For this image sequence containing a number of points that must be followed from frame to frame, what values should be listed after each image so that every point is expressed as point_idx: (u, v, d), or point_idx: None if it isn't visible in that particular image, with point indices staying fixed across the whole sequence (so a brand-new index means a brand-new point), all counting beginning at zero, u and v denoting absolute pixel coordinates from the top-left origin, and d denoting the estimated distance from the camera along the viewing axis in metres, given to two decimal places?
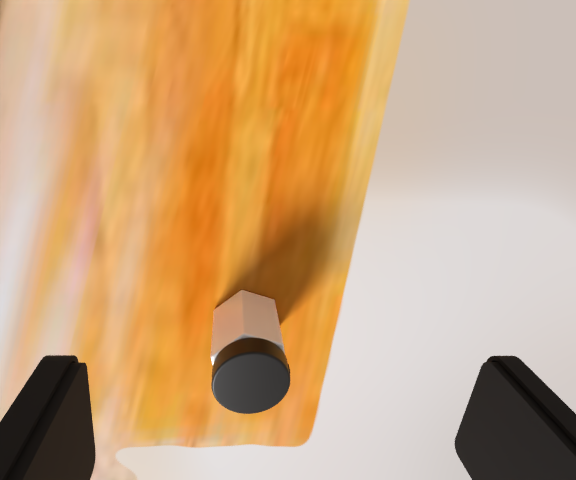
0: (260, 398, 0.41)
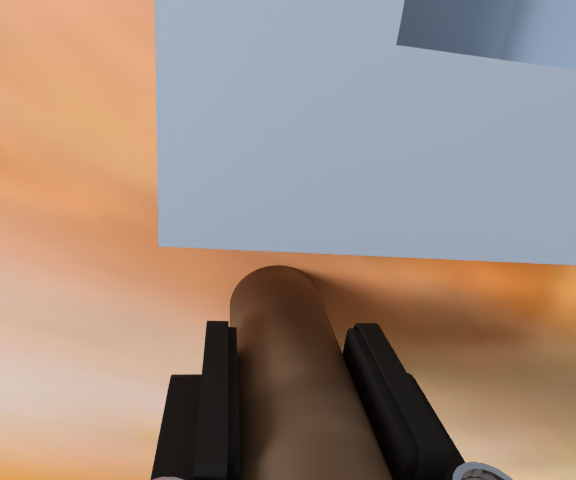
0: None
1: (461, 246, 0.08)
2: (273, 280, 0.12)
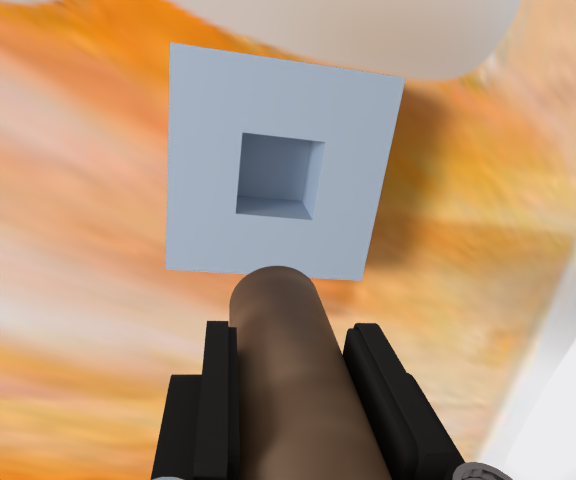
0: None
1: None
2: (273, 280, 0.12)
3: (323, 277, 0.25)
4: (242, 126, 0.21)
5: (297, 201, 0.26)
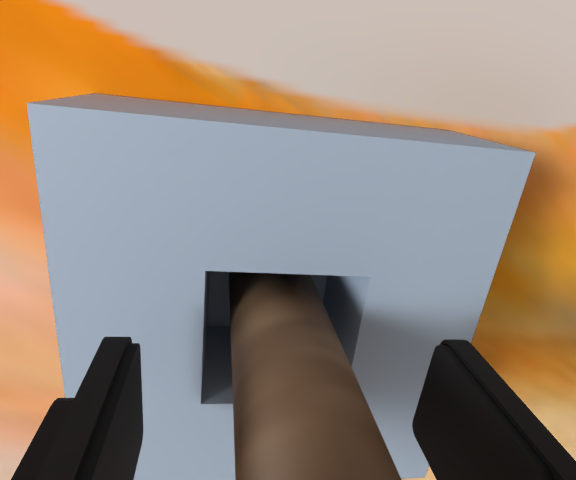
0: None
1: None
2: None
3: None
4: (204, 260, 0.10)
5: None
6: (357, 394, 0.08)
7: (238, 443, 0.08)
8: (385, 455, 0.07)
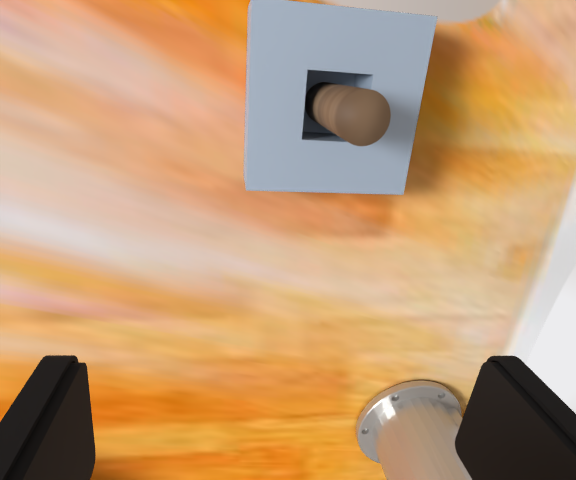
0: None
1: (326, 188, 0.29)
2: (324, 82, 0.29)
3: (372, 192, 0.30)
4: (307, 64, 0.26)
5: None
6: None
7: (329, 105, 0.23)
8: None
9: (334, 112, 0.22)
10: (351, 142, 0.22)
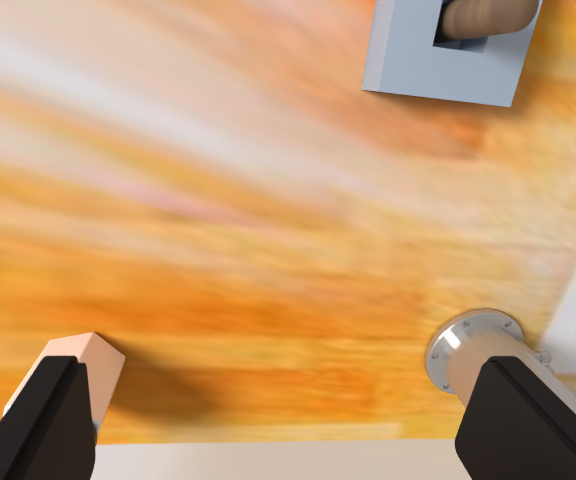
0: None
1: (446, 95, 0.33)
2: None
3: (484, 103, 0.33)
4: None
5: None
6: None
7: (477, 2, 0.27)
8: None
9: (489, 1, 0.26)
10: (503, 27, 0.26)
